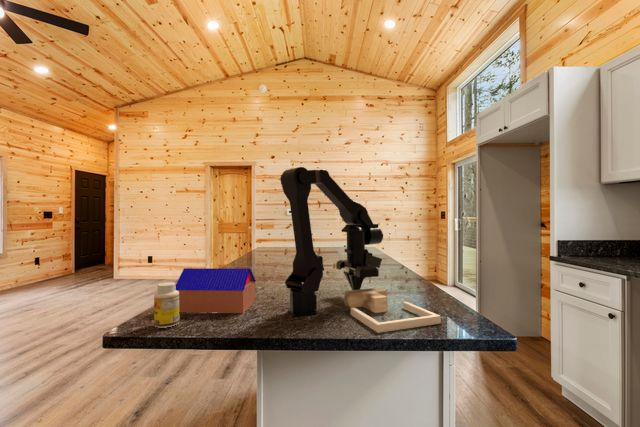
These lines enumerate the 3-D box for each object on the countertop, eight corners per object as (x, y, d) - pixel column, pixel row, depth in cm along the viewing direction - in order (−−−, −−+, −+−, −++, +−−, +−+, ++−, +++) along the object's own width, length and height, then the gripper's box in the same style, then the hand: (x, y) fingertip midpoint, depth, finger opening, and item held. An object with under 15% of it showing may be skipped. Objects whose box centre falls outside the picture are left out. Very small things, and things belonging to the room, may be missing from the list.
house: (243, 315, 87) (243, 272, 87) (173, 314, 88) (172, 271, 88) (256, 303, 99) (255, 265, 99) (193, 302, 100) (193, 265, 100)
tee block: (344, 304, 95) (344, 290, 95) (379, 300, 99) (379, 287, 99) (361, 314, 85) (361, 299, 85) (400, 309, 89) (399, 295, 89)
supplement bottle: (155, 323, 80) (155, 282, 80) (179, 320, 82) (179, 280, 82) (153, 331, 75) (152, 287, 75) (179, 327, 77) (178, 284, 77)
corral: (377, 332, 72) (377, 324, 72) (350, 314, 85) (350, 308, 85) (440, 323, 78) (440, 315, 78) (406, 307, 91) (406, 301, 91)
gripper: (393, 247, 95) (394, 299, 95) (364, 242, 113) (365, 287, 113) (360, 249, 92) (361, 303, 92) (335, 244, 109) (336, 289, 109)
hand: (356, 295), depth 101 cm, fingers closed
